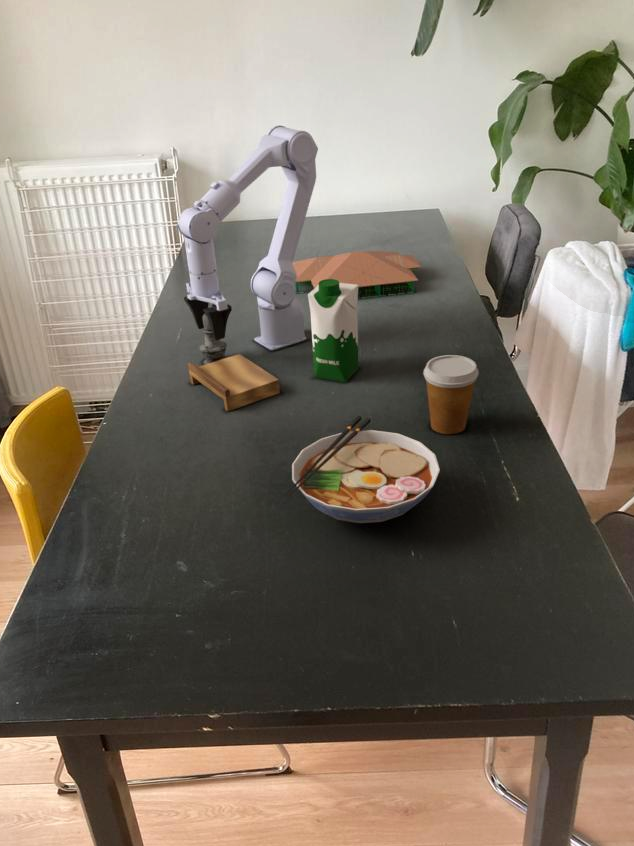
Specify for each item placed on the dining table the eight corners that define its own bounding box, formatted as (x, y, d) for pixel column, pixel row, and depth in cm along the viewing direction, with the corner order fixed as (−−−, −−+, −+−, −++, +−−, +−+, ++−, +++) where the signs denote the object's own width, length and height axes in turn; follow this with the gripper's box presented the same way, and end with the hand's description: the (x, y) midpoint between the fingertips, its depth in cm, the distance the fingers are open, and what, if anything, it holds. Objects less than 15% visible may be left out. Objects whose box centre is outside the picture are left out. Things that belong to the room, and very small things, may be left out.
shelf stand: (240, 366, 173) (238, 347, 170) (279, 393, 162) (278, 372, 159) (190, 383, 168) (187, 363, 165) (227, 411, 157) (224, 390, 154)
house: (428, 291, 201) (429, 259, 197) (298, 306, 199) (296, 273, 194) (407, 262, 220) (407, 232, 215) (287, 275, 218) (285, 244, 213)
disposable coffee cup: (478, 416, 149) (483, 356, 142) (470, 441, 142) (474, 380, 135) (427, 410, 152) (429, 351, 145) (416, 435, 145) (418, 374, 138)
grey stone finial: (224, 367, 173) (217, 314, 166) (198, 366, 174) (190, 313, 167) (231, 355, 177) (225, 303, 170) (206, 355, 179) (198, 303, 172)
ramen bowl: (394, 572, 114) (394, 526, 110) (262, 528, 125) (257, 484, 120) (464, 485, 131) (467, 441, 126) (342, 452, 142) (340, 411, 137)
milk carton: (308, 379, 166) (302, 284, 154) (326, 361, 172) (321, 269, 161) (348, 385, 162) (345, 289, 151) (364, 366, 169) (362, 272, 157)
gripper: (169, 266, 167) (179, 327, 175) (201, 284, 157) (210, 349, 165) (200, 258, 170) (208, 319, 178) (233, 275, 160) (240, 339, 168)
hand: (211, 333), depth 172 cm, fingers open, 7 cm apart
